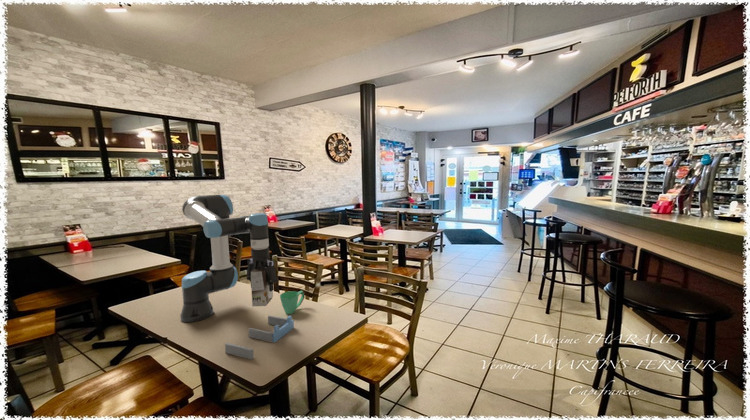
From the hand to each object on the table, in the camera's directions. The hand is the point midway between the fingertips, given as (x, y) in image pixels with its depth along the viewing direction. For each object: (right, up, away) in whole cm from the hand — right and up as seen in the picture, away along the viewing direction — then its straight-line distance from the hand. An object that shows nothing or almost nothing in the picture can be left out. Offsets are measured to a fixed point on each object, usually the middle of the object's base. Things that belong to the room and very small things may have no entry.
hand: (262, 296), depth 131 cm
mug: (+6, -17, +28) cm, 33 cm away
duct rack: (0, -19, -1) cm, 19 cm away
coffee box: (0, -3, 0) cm, 3 cm away
